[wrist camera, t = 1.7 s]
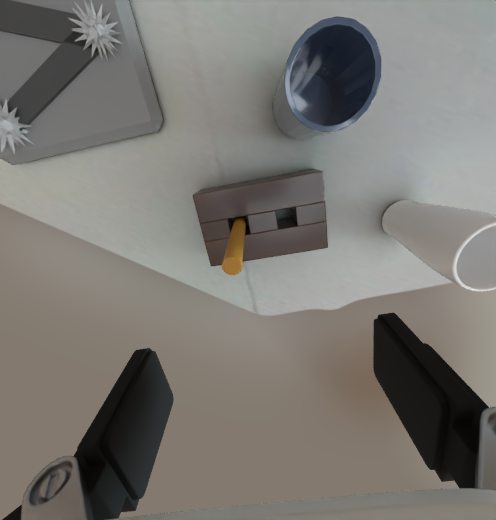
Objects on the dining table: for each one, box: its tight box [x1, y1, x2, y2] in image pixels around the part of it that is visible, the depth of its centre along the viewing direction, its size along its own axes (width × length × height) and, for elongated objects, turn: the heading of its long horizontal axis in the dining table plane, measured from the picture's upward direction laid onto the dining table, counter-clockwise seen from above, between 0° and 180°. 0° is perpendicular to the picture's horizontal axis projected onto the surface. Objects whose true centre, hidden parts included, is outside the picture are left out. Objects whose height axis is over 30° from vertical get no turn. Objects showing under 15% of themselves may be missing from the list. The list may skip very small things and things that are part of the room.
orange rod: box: [222, 216, 246, 275], centre depth 28 cm, size 2×2×17 cm
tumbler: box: [273, 16, 381, 140], centre depth 25 cm, size 7×7×12 cm
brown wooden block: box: [193, 169, 328, 266], centre depth 33 cm, size 9×15×5 cm, turn 100°
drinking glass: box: [382, 200, 496, 292], centre depth 28 cm, size 7×7×15 cm
